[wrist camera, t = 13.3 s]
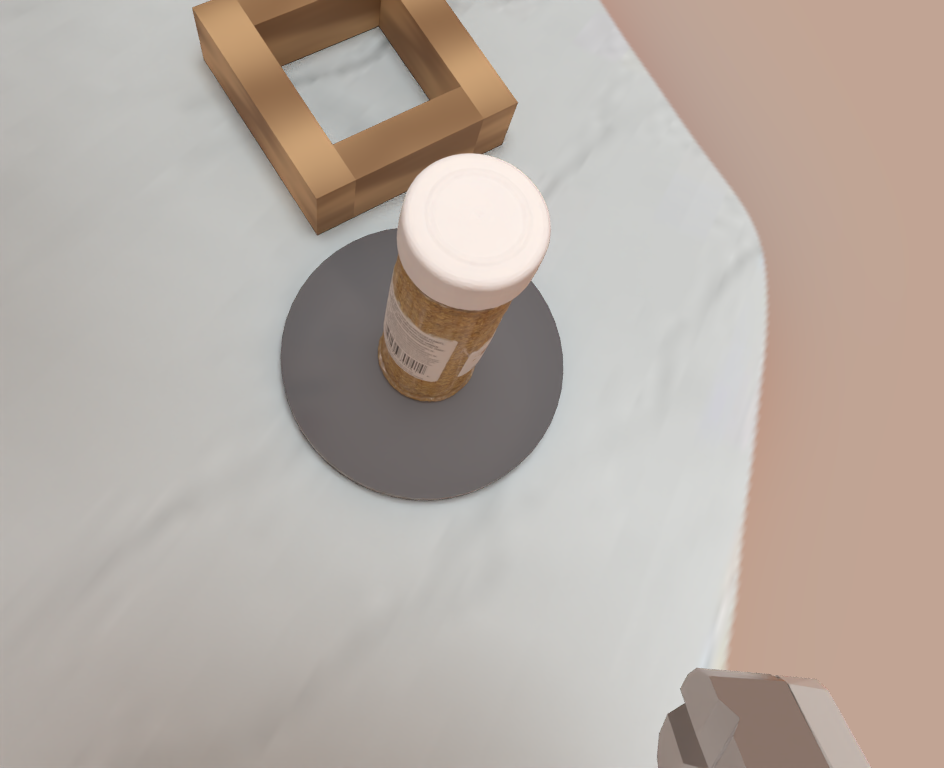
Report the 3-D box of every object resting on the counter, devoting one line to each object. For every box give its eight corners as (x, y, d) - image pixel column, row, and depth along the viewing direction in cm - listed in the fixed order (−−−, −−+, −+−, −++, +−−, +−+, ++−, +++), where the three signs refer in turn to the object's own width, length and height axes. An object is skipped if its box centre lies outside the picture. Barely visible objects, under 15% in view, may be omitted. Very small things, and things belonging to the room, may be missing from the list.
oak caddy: (203, 58, 38) (192, 7, 35) (390, -16, 42) (396, -69, 38) (317, 235, 37) (316, 198, 34) (502, 143, 40) (517, 102, 37)
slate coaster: (228, 313, 35) (225, 305, 34) (462, 194, 39) (466, 184, 38) (378, 557, 33) (380, 556, 32) (608, 407, 37) (615, 402, 36)
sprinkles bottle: (490, 382, 35) (580, 258, 23) (399, 419, 34) (440, 309, 22) (449, 295, 36) (515, 129, 24) (359, 328, 35) (376, 171, 22)
